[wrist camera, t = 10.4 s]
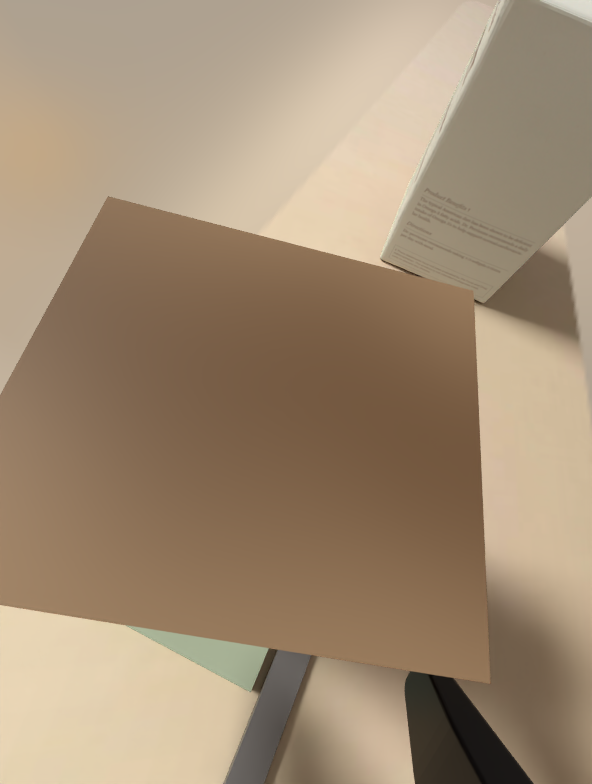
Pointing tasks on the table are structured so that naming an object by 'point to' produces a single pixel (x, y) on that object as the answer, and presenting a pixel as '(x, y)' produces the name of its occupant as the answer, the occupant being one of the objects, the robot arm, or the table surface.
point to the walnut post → (249, 449)
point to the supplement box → (503, 151)
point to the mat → (214, 655)
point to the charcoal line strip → (268, 719)
